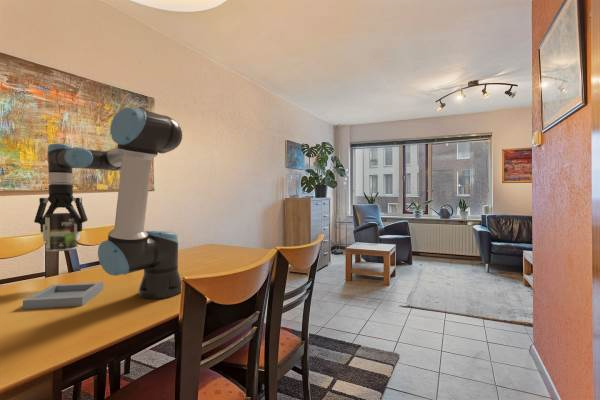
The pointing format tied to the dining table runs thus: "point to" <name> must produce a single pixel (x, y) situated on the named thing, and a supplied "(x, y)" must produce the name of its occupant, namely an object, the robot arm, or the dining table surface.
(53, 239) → the coffee can
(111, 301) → the dining table surface
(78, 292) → the grey square tray
